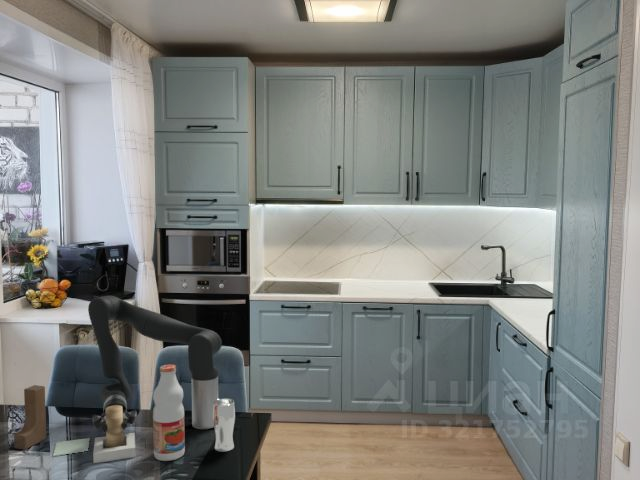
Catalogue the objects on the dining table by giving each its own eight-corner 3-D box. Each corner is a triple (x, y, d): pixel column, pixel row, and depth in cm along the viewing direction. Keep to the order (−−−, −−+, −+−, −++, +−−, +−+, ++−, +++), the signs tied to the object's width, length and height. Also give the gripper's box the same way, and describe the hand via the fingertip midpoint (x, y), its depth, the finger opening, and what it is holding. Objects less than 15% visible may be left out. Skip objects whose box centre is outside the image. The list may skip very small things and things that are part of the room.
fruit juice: (167, 446, 174) (165, 360, 173) (191, 451, 171) (189, 364, 169) (147, 458, 166) (145, 368, 164) (171, 464, 162) (170, 372, 160)
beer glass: (239, 444, 175) (238, 399, 174) (228, 453, 169) (228, 407, 168) (220, 441, 178) (219, 397, 177) (209, 450, 171) (208, 404, 170)
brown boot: (25, 450, 171) (23, 394, 170) (13, 448, 173) (12, 393, 172) (46, 438, 180) (45, 385, 179) (36, 437, 181) (34, 384, 180)
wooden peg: (123, 447, 173) (122, 404, 173) (123, 453, 169) (122, 409, 168) (106, 449, 172) (105, 406, 171) (106, 456, 167) (105, 411, 166)
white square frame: (134, 441, 178) (134, 432, 178) (135, 457, 167) (135, 447, 166) (95, 446, 174) (95, 437, 174) (93, 463, 163) (93, 453, 162)
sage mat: (89, 439, 180) (89, 437, 180) (88, 451, 170) (88, 450, 170) (56, 443, 176) (56, 442, 176) (53, 456, 167) (53, 455, 167)
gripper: (92, 400, 181) (89, 419, 165) (137, 395, 186) (138, 413, 170) (92, 422, 181) (89, 443, 165) (137, 416, 186) (139, 436, 170)
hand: (114, 427), depth 168 cm, fingers closed on wooden peg, 5 cm apart
